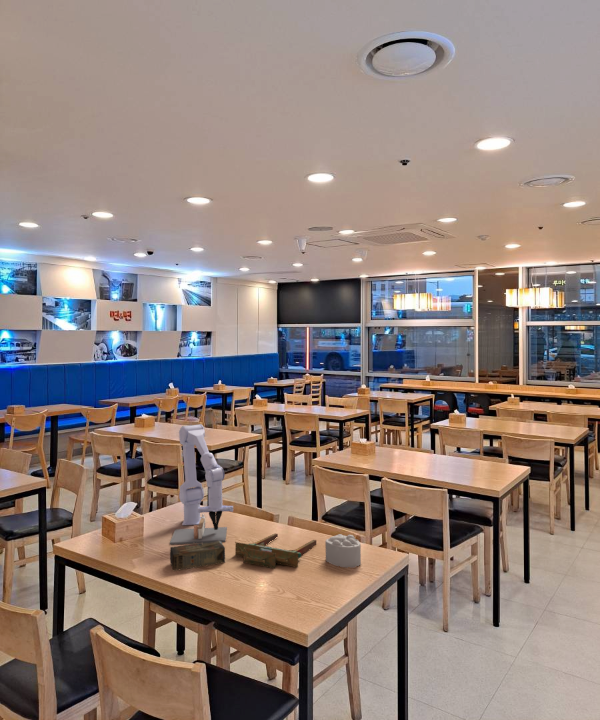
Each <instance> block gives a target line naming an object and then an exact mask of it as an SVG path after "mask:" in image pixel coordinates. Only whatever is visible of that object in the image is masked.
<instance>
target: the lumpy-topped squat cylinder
mask: <svg viewBox="0 0 600 720" xmlns="http://www.w3.org/2000/svg"><path fill="white" fill-rule="evenodd" d="M324 542H325V544H324V545H325V561H326V562H327V563H328V562H329V564H330V565H334V566H336V567H339V566H340V567H341V568H348V567H350V568H357V567H356V566H358V567H359V565H360V566H361V565H362V560H361V559H362V553H361V552H362V551H361V547H362V546H361V541H359V539H356V537H355V536H354V535H353V534H348V535H343V534H341V533H339V534H337V535H333V536H330V537H329V538H327V539H325V541H324ZM340 567H339V568H340Z"/></svg>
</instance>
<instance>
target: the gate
mask: <svg viewBox="0 0 600 720" xmlns="http://www.w3.org/2000/svg"><path fill="white" fill-rule="evenodd" d="M200 517H201V519H200V522H199V525H198V534H199V539H202V536H203V533H204V529H205V528H206V517H205V516H204V517H202V516H200Z"/></svg>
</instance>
